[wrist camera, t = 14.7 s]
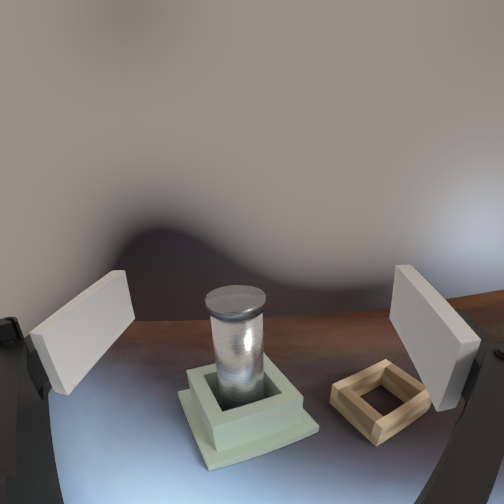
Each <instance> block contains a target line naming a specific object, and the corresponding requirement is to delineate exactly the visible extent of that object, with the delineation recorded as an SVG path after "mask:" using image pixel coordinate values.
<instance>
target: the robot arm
mask: <svg viewBox="0 0 504 504" xmlns="http://www.w3.org/2000/svg"><path fill="white" fill-rule="evenodd" d="M134 319H135V316H134V312H133V308H132V303H131V299H130V294H129V289H128V285H127V280H126V275H125V271H122V270H120V271H119V270H114V271H113V270H112V271H111V272H110V273H108V274H107V275H105V276H104V277H103V278H101V279H100V280H98V281H97V282H96V283H94V284H93V285H91V286H90V287H89V288H87V289H86V290H85V291H83V292H82V293H80V294H79V295H78V296H76V297H75V298H74V299H72V300H71V301H70V302H68V303H67V304H66V305H64V306H63V307H62V308H60V309H59V310H58V311H57V312H55V313H54V314H52V315H51V316H50V317H48V318H47V319H46V320H45V321H43V322H42V323H41V324H40V325H38V326H37V327H36V328H34V329H33V330H32V331H31V332H29V335H28V336H27V337H25V338H24V337H23V334H22V331H21V329H20V326H19V323H18V321H17V318H15V317H6V318H3V319H0V504H64V502H63V498H62V493H61V489H60V484H59V479H58V474H57V469H56V463H55V457H54V451H53V444H52V436H51V427H50V417H49V404H48V392H47V389H46V387H45V384H46V382H47V381H48V380H49V381H50V383H51V385H52V387H53V389H54V391H55V392H57V393H60V394H64V395H67V396H68V395H69V394H70V393H71V392H72V390H73V389H74V388H75V387H76V386H77V384H78V383H79V382H80V381H81V380H82V379H83V377H84V376H85V375H86V374H87V373H88V372H89V370H90V369H91V368H92V367H93V366H94V365H95V363H96V362H97V361H98V360H99V359H100V358H101V356H102V355H103V354H104V353H105V352H106V351H107V350H108V348H109V347H110V346H111V345H112V344H113V343H114V342H115V340H116V339H117V338H118V337H119V336H120V335H121V334H122V333H123V331H124V330H125V329H126V328H127V327H128V326H129V325H130V324H131V322H132V321H133V320H134ZM390 320H391V322H392V324H393V326H394V327H395V329H396V331H397V333H398V335H399V337H400V339H401V340H402V342H403V344H404V346H405V348H406V350H407V352H408V354H409V356H410V358H411V360H412V362H413V363H414V365H415V367H416V369H417V371H418V373H419V375H420V377H421V380H422V382H423V384H424V386H425V388H426V390H427V392H428V394H429V396H430V398H431V400H432V403H433V405H434V407H435V409H436V411H437V412H440V411H444V410H449V409H453V408H456V406H457V404H458V401H459V399H460V397H461V394H462V396H463V398H464V400H465V402H466V403H465V405H464V407H463V410H462V412H461V414H460V416H459V418H458V420H457V422H456V424H455V425H456V426H455V428H454V431H453V433H452V435H451V437H450V439H449V442H448V444H447V446H446V448H445V450H444V452H443V454H442V456H441V458H440V460H439V462H438V464H437V465H436V467H435V469H434V471H433V473H432V475H431V476H430V478H429V480H428V482H427V483H426V485H425V487H424V488H423V490H422V492H421V493H420V495H419V496H418V498H417V500H416V501H415V503H414V504H487V501H488V499H489V496H490V494H491V491H492V488H493V485H494V483H495V480H496V477H497V474H498V471H499V468H500V464H501V461H502V458H503V454H504V343H501V342H498V343H494V342H493V341H492V340H491V339H490V337H489V336H488V335H487V334H486V333H485V332H484V331H483V330H482V329H481V328H479V325H478V324H477V323H476V322H474V320H473V319H472V318H471V317H470V316H469V315H468V314H467V313H465V312H463V311H461V310H460V309H453V308H452V307H451V306H450V305H449V304H448V303H447V301H446V300H445V299H444V298H443V297H442V296H441V295H440V294H439V293H438V292H437V291H436V290H435V289H434V288H433V287H432V286H431V285H430V284H429V283H428V282H427V281H426V280H425V279H424V278H423V277H422V276H421V275H420V274H419V273H418V272H417V271H416V270H415V269H414V268H413V267H412V266H411V265H396V267H395V278H394V287H393V296H392V304H391V311H390Z"/></svg>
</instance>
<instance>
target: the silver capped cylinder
mask: <svg viewBox="0 0 504 504" xmlns="http://www.w3.org/2000/svg"><path fill="white" fill-rule="evenodd" d="M205 301H206V310H207V313H208V314H209V315H210V316H211V326H212V335H213V344H214V353H215V361H216V370H217V378H218V386H219V393H220V401H221V408H222V412H223V411H227V410H230V409H234V408H237V407H241V406H244V405H247V404H251V403H254V402H257V401H260V400H263V399H264V362H263V315H262V313H263V312H264V310H265V308H266V295H265V293H264V292H263V291H262V290H260V289H258V288H255V287H252V286H244V285H233V286H225V287H221V288H218V289H215V290H213V291H211V292H210V293H208V295H207V296H206V298H205Z"/></svg>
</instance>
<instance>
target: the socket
mask: <svg viewBox="0 0 504 504" xmlns="http://www.w3.org/2000/svg"><path fill="white" fill-rule="evenodd" d="M263 362H264V399H263V400H260V401H257V402H254V403H251V404H247V405H244V406H241V407H237V408H234V409H230V410H227V411H223V412H222V410H221V408H220V407H219V405H218V404H221V401H220V393H219V386H218V378H217V370H216V363H215V364H211V365H207V366H203V367H198V368H194V369H189V370H186V371H187V376H188V381H189V386H190V389H186V390H182V391H177V392H178V396H179V399H180V402H181V405H182V407H183V410H184V413H185V415H186V418H187V420H188V423H189V426H190V428H191V431H192V433H193V436H194V438H195V440H196V443H197V445H198V448H199V450H200V452H201V455H202V457H203V459H204V461H205V464H206V466H207V468H208V470H209V471H212V470H215V469H219V468H222V467H226V466H229V465H232V464H236V463H239V462H242V461H245V460H248V459H251V458H254V457H257V456H260V455H263V454H265V453H268V452H271V451H274V450H276V449H279V448H281V447H284V446H287V445H289V444H292V443H294V442H296V441H299V440H301V439H304V438H306V437H308V436H311V435H313V434H315V433H317V432H318V431H319V425H318V424H317V423H316V422H315V421H314V420H313V419H312V418H311V416H310V415H309V414H308V413H307V412H306V411H305V410H304V409H303V408H302V407H303V396H302V395H301V394H300V393H299V391H298V390H297V389H296V388H295V387H294V386H293V385H292V384H291V383H290V382H289V380H288V379H287V378H286V377H285V376H284V375H283V374H282V373H281V372H280V371H279V369H278V368H277V367H276V366H275V365H274V364H273V363H272V362H271V360H270V359H269V358H268V357H267V356H266V355H265V354H264V352H263Z"/></svg>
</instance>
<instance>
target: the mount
mask: <svg viewBox="0 0 504 504" xmlns="http://www.w3.org/2000/svg"><path fill="white" fill-rule="evenodd" d="M380 385H382V386H383V387H384V388H386V389H387V390H388V391H390V392H391V393H392V394H394V395H395V396H396V397H398V398H399V399H400V400H402V401H403V402H404V403H405V404H403V405H402V406H400V407H398V408H397V409H395V410H394V411H392V412H391V413H389V414H387V415H386V416H384V417H383V416H382V415H381V414H380V413H378V412H377V411H376V410H375V409H374V408H373V407H371V406H370V405H369V404H368V403H367V402H365V401H364V400H363V399H362V398H361V397H360V396H362V395H364V394H365V393H367V392H369V391H371V390H373V389H375V388H377V387H379V386H380ZM431 402H432V400H431V398H430V396H429V394H428V392H427V390H426V388H425V386H424V384H422V383H421V382H419V381H418V380H416V379H415V378H413V377H412V376H410V375H409V374H407V373H406V372H404V371H403V370H401V369H400V368H398V367H397V366H395V365H394V364H392V363H391V362H390V361H388V360H387V359H385V360H383V361H381V362H379V363H377V364H375V365H373V366H371V367H369V368H367V369H364V370H362V371H360V372H358V373H356V374H354V375H352V376H349V377H347V378H345V379H343V380H340V381H338V382H336V383H334V384H332V390H331V396H330V402H329V403H330V404H331V405H332V406H333V407H334V408H335V409H336V410H338V411H339V412H340V413H341V414H342V415H343V416H344V417H345V418H346V419H347V420H348V421H349V422H350V423H351V424H352V425H353V426H354V427H355V428H356V429H357V430H358V431H360V432H361V433H362V434H363V435H364V436H365V437H366V438H367V439H368V440H369V441H370V442H371V443H372V444H373V445H375V446H378V445H380V444H381V443H383V442H384V441H386V440H387V439H389V438H390V437H392V436H393V435H395V434H396V433H398V432H399V431H401V430H402V429H404V428H405V427H407V426H408V425H409V424H411V423H412V422H414V421H415V420H416V419H418V418H419V417H420V416H422V415H423V414H424V413H426V412H427V411H428V409H429V407H430V404H431Z"/></svg>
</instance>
